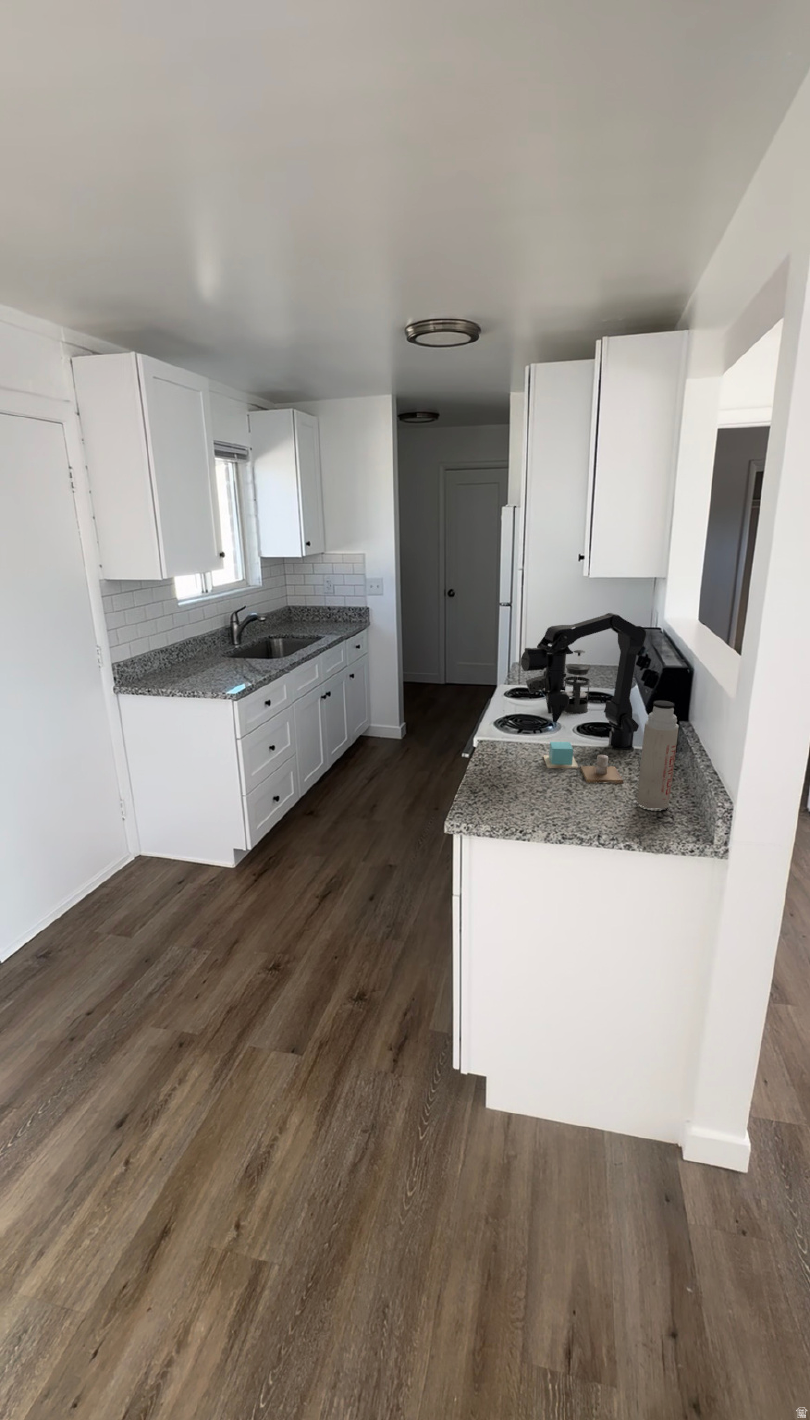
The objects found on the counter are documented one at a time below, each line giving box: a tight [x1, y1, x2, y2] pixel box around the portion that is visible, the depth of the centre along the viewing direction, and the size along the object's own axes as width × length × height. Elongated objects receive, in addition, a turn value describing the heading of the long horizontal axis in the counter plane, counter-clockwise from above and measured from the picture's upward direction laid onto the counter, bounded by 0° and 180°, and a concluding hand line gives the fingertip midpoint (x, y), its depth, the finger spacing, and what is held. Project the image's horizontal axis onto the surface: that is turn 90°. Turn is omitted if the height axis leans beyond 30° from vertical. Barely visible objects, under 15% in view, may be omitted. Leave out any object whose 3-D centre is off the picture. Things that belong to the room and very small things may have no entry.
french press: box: [563, 649, 591, 715], centre depth 250 cm, size 12×9×23 cm
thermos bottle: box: [636, 700, 680, 808], centre depth 170 cm, size 8×8×28 cm
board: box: [542, 754, 579, 769], centre depth 203 cm, size 9×9×1 cm
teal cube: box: [548, 741, 574, 765], centre depth 202 cm, size 6×6×5 cm
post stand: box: [579, 754, 624, 784], centre depth 192 cm, size 10×10×6 cm
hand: (552, 717), depth 206 cm, fingers open, 9 cm apart
